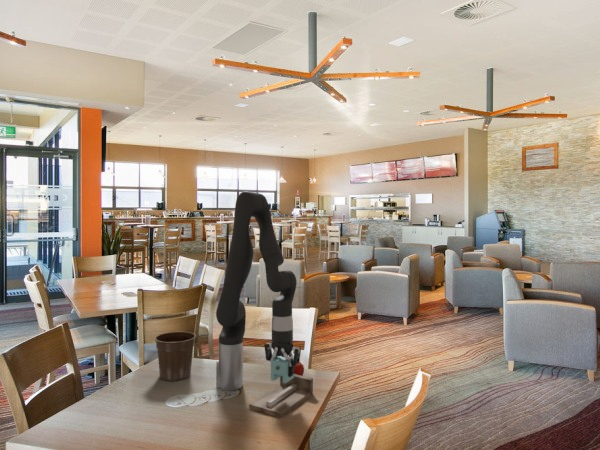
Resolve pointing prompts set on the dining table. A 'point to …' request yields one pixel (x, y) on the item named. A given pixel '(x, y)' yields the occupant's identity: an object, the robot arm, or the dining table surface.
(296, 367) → the apple
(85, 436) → the dining table surface
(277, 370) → the cabinet block
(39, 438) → the dining table surface
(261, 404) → the cleat board
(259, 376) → the dining table surface
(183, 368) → the plant pot
